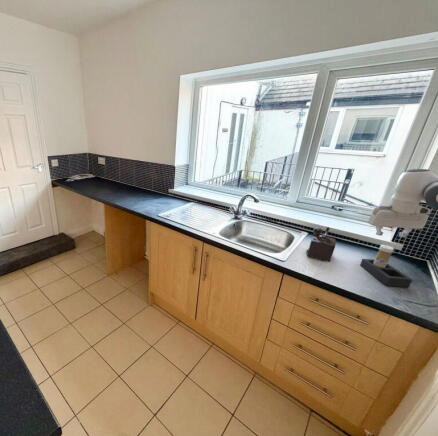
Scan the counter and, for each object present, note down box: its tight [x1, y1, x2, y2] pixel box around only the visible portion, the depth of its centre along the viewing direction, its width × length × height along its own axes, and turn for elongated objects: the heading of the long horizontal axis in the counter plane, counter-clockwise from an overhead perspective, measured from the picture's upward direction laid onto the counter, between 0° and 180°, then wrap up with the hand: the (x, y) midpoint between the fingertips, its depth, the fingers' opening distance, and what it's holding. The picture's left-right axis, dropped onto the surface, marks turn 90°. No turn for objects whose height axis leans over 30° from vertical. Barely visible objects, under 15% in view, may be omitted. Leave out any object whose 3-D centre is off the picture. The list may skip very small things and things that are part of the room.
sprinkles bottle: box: [373, 244, 395, 268], centre depth 113 cm, size 5×5×13 cm
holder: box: [359, 258, 413, 288], centre depth 112 cm, size 9×16×4 cm, turn 173°
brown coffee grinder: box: [306, 226, 337, 263], centre depth 125 cm, size 16×11×18 cm
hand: (390, 235), depth 110 cm, fingers open, 8 cm apart
